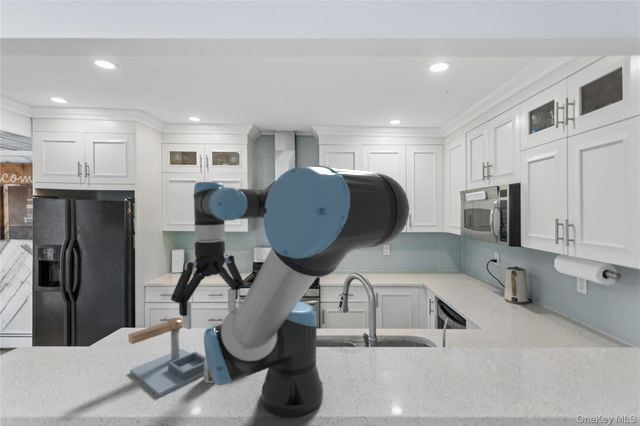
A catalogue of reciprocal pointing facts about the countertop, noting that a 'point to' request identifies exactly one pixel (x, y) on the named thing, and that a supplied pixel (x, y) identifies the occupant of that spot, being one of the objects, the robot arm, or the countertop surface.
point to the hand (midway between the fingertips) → (211, 319)
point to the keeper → (155, 330)
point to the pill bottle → (207, 373)
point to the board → (170, 369)
